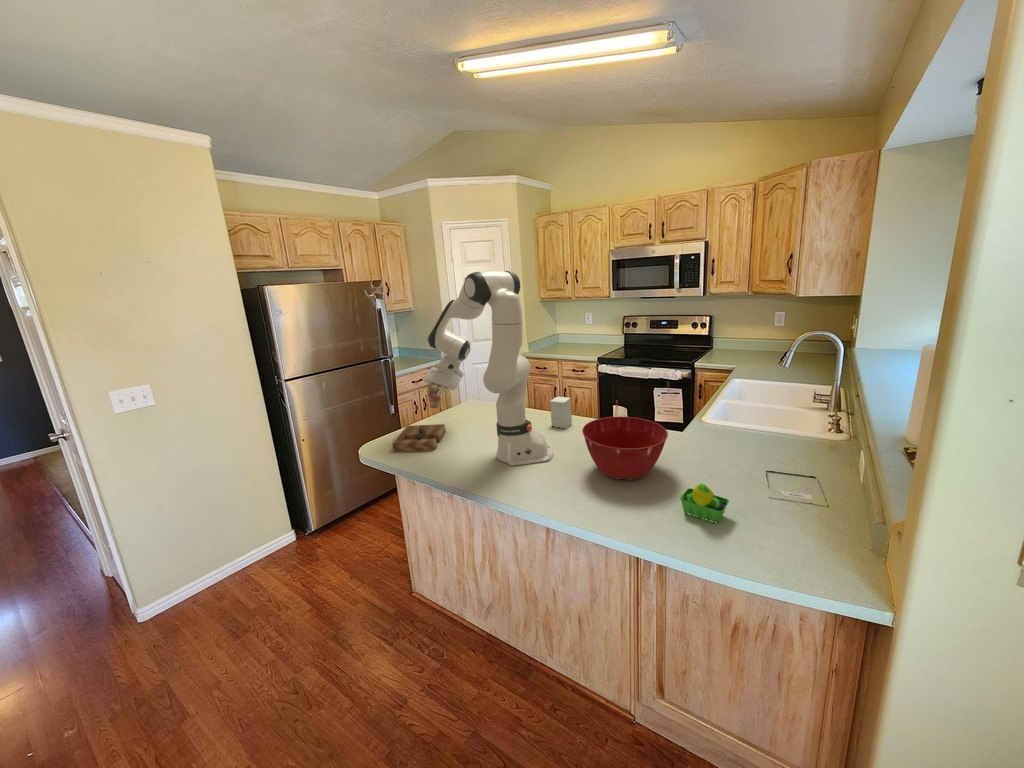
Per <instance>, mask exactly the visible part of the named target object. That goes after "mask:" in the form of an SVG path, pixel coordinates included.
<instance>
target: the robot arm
mask: <svg viewBox="0 0 1024 768" xmlns="http://www.w3.org/2000/svg"><path fill="white" fill-rule="evenodd" d="M520 291H521V279H520V278H519V276H518V274H516V273H515V272H514V271H513V272H512V271H509V270H504V271H501V270H484V271H475V272H472V273H468V274H467V275H466V277H465V278H464V283H463V284H462V287H461V288H460V291H459V293H458V294H459V295H458V297H456V298H455V299H451V300H450V301H449V302H448V303H447V304H446V306H445V307H444V309H443V310H442V311H441V314H440V316H439V318H438V319H437V321H436V323H435V324H434V326H433V328H432V329H431V331H430V332H429V334H428V336H427V342H428V345H429V346H430V348H433V349H435V350H437V351H440V352H442V353H444V355H443V357H442V358H441V359H440V361H439V363H438V364H437V365H434V366H433V367H432V366H431V368H430V369H429V370H428V371H427V372H426V374H425V375H424V377H423V382H424V383H426V384H427V385H429V384H438V386H439V391H437V392H436V393H435V395H436V396H440V397H441V395H442V394H443V393H444V392H445V391H446V390H449V391H454V390H456V389H457V388H458V387H459V384H460V382H461V380H462V378H463V376H464V375H465V374H464V372H463V371H462V370H461V369H460V367H461V364H462V362H463V361H465V360H466V359H467V357H468V355H469V354H470V352H471V344H472V342H471V341H470V339H469V338H468V337H467V336H465V335H462V334H459V335H458V334H456V333H454V332H452V331H450V330H448V329H447V328H446V327H447V325H448V324H449V321H450V320H451V319H459V320H460V319H461V320H466V321H467V320H468V321H470V320H474V319H477V318H478V317H480V316H481V315H482V313H483V311H484V309H485V307H486V305H487V304H488V305H489V306H490V309H491V349H490V353H489V354H490V355H489V359H488V364H487V367H486V370H485V372H484V374H483V378H482V380H483V386H484V387H485V388H486V389H487V391H488V392H490V393H491V394H498V397H497V399H496V402H495V408H496V409H495V410H496V419H497V420H496V421H497V422H496V425H495V426H496V435H497V438H498V439H497V449H496V455H495V456H496V458H497V460H499V461H500V462H504V463H506V464H508V465H509V466H521V465H527V464H537V463H545V462H549V461H550V460H552V458H554V451H553V447H552V446H551V445H549V444H548V443H547V441H546V438H545V436H544V435H543V434H541V433H540V432H538V431H536V430H535V429H533V426H532V422H531V419H529V420H528V419H527V417H526V392H527V386H528V380H529V375H530V373H531V368H532V366H531V363H530V361H529V359H528V358H527V357H525V356H523V355H520V354H519V353H520V350H521V347H522V346H523V312H522V304H521V298H520V296H519V294H520ZM427 390H428V388H427V389H426V391H425V392H426V393H427V394H428V391H427Z"/></svg>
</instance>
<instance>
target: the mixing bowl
mask: <svg viewBox="0 0 1024 768" xmlns="http://www.w3.org/2000/svg"><path fill="white" fill-rule="evenodd" d="M581 430H582V435H583V438H584V441H585V444H586V447H587V450H588V453H589V454H590V456H591V459H592V461H593V463H594V464H595V465H596V467H597V469H598V470H600V472H602V473H603V474H605V475H606V476H607V477H610V478H612V477H613V478H612V479H615V478H618V479H617V480H619V479H633V480H636V479H635V478H637V479H639V478H642V477H644V476H646V475H648V473H649V472H650V471H652V470H653V468H654V466H655V465H656V464H657V462H658V460H659V459H660V457H661V456H660V455H661V454H662V452H663V449H664V446H665V444H666V441H667V439H668V437H669V433H668V431H667V429H666V428H665V427H664V426H662V425H661V424H659V423H657V422H655V421H652V420H649V419H644V418H641V417H636V416H635V417H633V416H606V417H601V418H597V419H594V420H590V421H589V422H587V423H586V424H585V425H584V426H583V427H582V429H581Z"/></svg>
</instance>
